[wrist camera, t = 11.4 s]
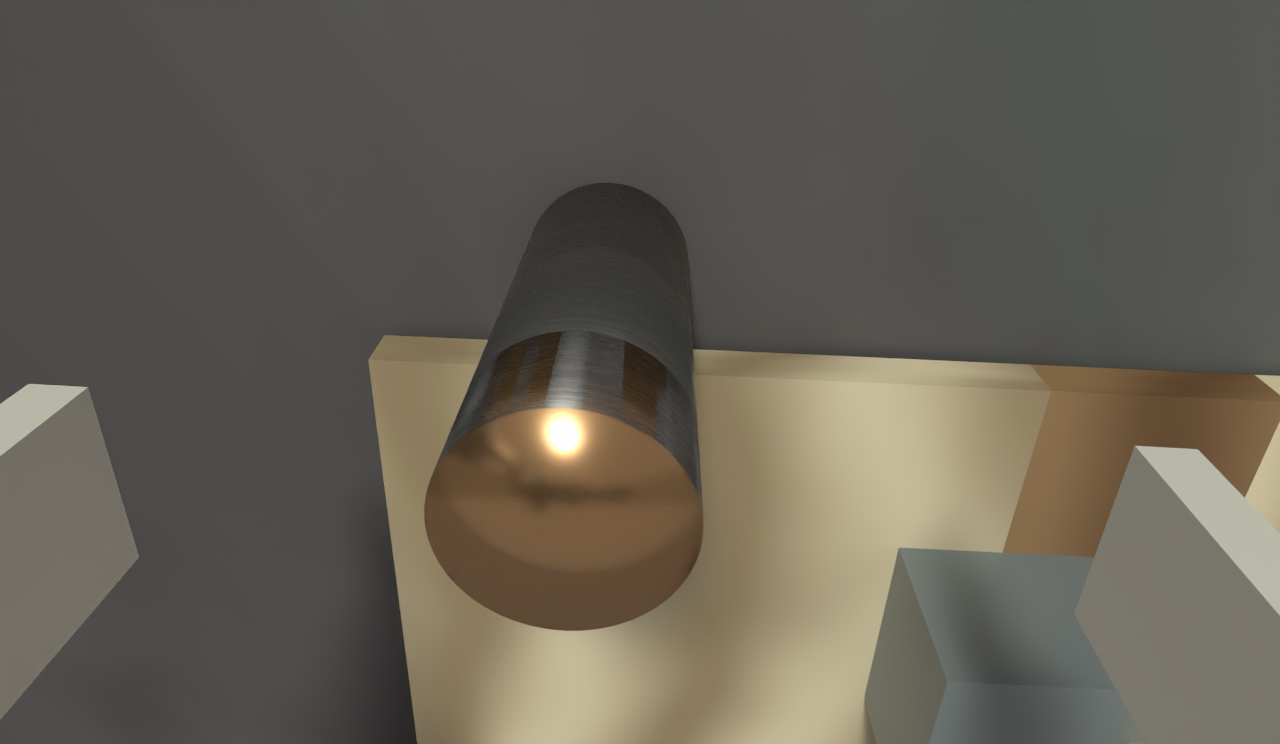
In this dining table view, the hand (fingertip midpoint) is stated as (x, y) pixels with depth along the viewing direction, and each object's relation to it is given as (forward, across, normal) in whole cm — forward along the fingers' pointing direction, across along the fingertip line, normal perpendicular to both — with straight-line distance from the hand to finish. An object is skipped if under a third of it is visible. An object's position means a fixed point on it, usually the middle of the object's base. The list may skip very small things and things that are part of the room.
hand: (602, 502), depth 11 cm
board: (+8, +6, -10) cm, 14 cm away
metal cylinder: (+8, -1, 0) cm, 8 cm away
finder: (+7, +10, -9) cm, 15 cm away
